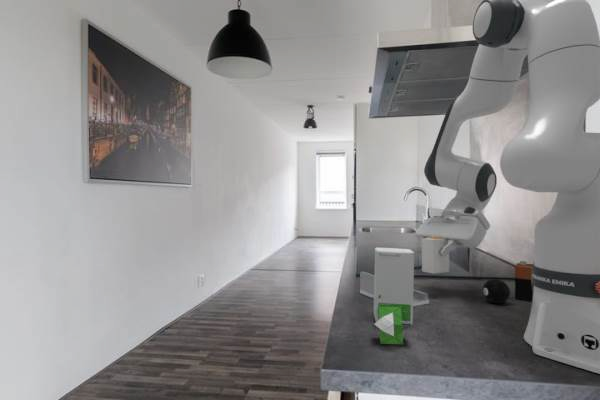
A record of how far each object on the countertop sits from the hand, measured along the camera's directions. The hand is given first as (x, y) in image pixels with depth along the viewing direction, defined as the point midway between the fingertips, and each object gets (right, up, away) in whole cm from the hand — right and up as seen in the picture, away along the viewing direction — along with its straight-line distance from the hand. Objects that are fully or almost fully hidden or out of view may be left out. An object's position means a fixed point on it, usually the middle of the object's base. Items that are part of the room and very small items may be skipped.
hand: (433, 253), depth 100 cm
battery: (+25, -12, -3) cm, 27 cm away
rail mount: (-12, -12, -2) cm, 17 cm away
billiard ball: (+14, -12, -6) cm, 19 cm away
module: (+1, -5, 0) cm, 5 cm away
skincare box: (-16, -12, -18) cm, 27 cm away
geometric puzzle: (-19, -12, -31) cm, 39 cm away
